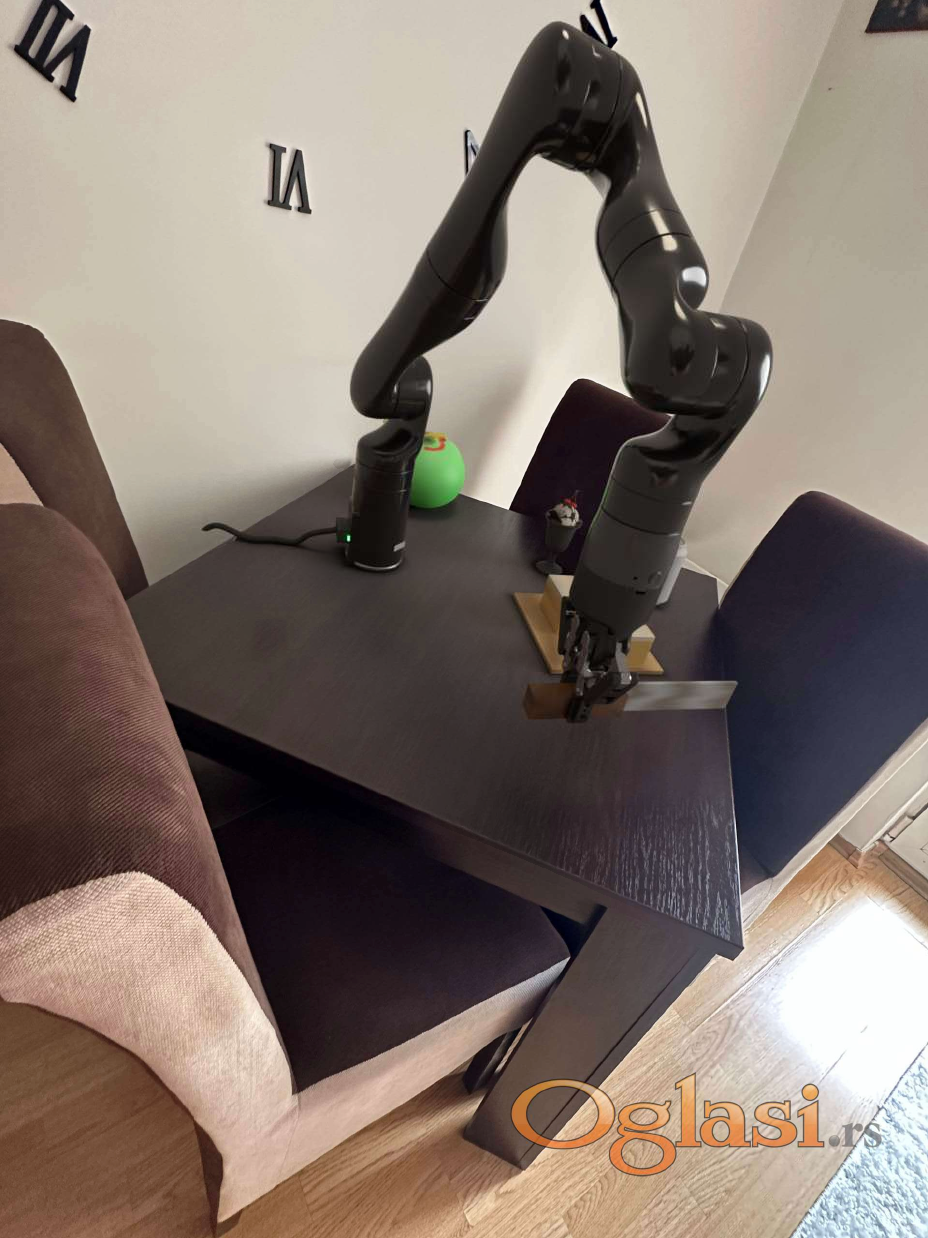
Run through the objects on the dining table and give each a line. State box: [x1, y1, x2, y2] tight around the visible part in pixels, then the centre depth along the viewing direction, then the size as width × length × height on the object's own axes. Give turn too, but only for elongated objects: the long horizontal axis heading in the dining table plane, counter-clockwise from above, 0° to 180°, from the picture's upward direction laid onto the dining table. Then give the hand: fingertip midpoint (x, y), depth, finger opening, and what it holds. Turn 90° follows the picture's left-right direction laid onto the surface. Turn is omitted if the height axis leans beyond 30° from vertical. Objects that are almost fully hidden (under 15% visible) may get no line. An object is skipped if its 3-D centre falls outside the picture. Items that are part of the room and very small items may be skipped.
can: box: [655, 535, 688, 606], centre depth 113 cm, size 8×8×12 cm
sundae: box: [535, 489, 583, 576], centre depth 114 cm, size 7×7×15 cm
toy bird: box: [382, 419, 466, 509], centre depth 128 cm, size 18×17×15 cm
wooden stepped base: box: [512, 574, 664, 676], centre depth 100 cm, size 18×20×7 cm
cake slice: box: [625, 624, 656, 668], centre depth 94 cm, size 11×3×6 cm, turn 102°
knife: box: [521, 680, 739, 720], centre depth 66 cm, size 23×2×4 cm, turn 103°
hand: (570, 710), depth 65 cm, fingers closed on knife, 2 cm apart
